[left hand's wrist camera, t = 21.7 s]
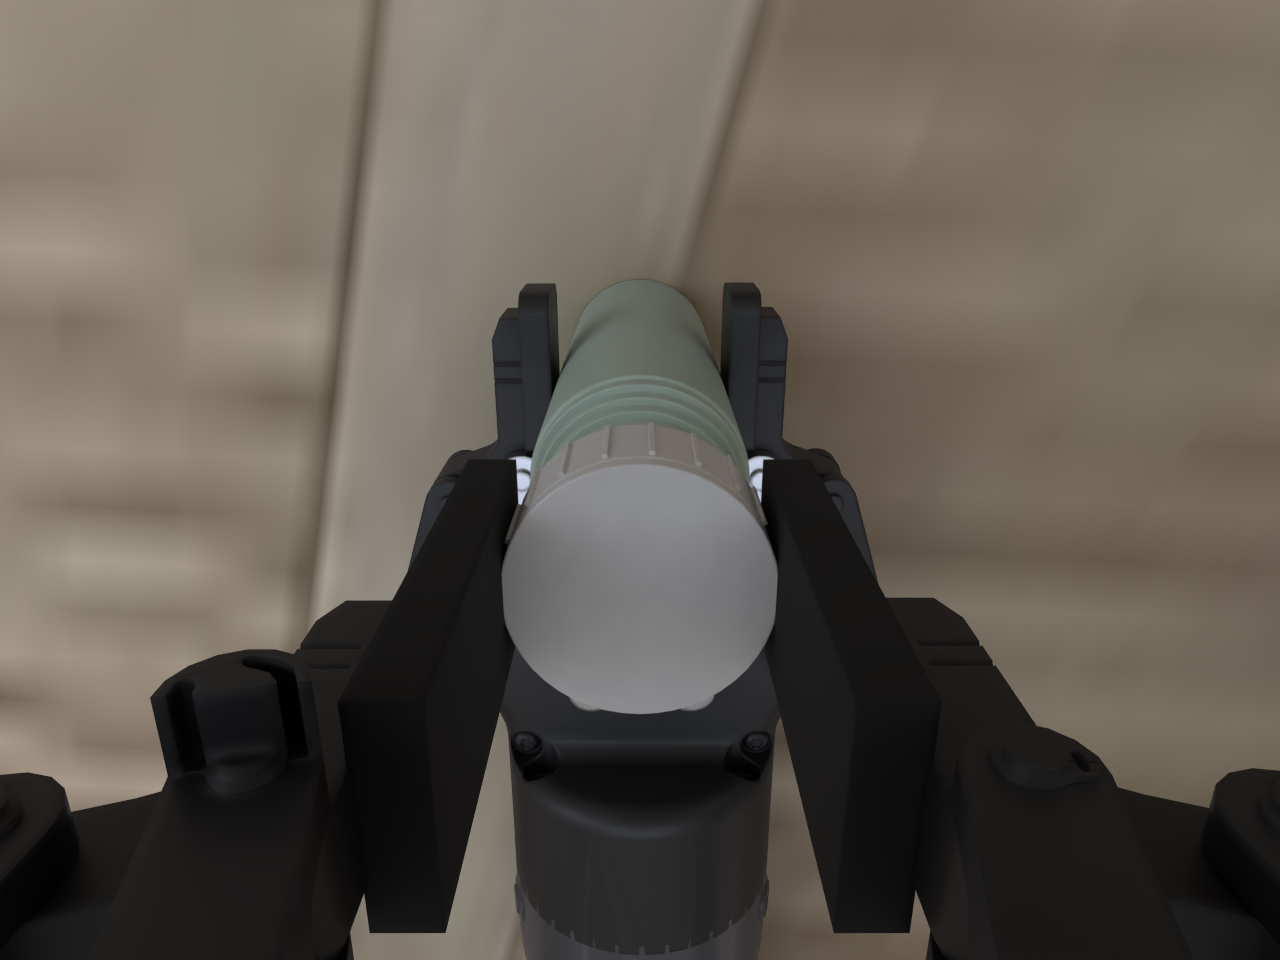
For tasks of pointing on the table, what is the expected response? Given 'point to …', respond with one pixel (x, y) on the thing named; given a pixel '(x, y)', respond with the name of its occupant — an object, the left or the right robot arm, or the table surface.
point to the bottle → (640, 374)
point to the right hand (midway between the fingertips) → (641, 291)
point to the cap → (639, 571)
